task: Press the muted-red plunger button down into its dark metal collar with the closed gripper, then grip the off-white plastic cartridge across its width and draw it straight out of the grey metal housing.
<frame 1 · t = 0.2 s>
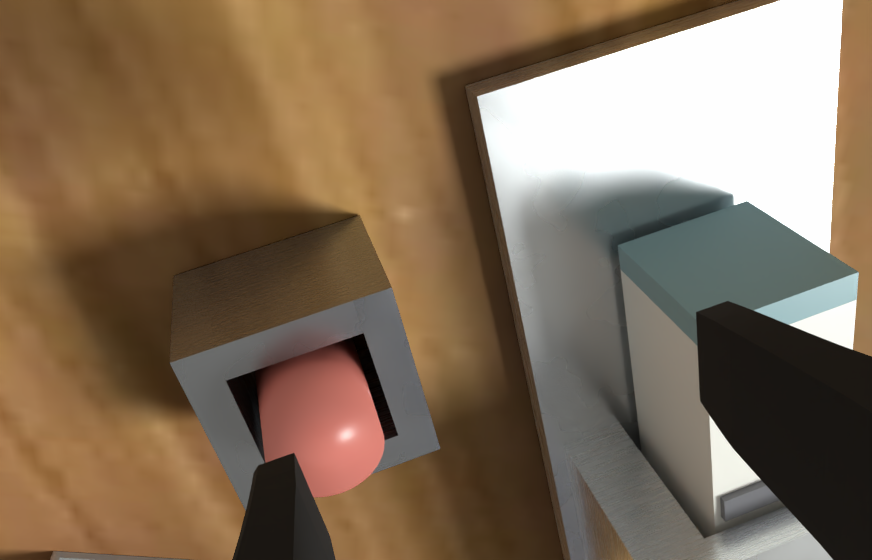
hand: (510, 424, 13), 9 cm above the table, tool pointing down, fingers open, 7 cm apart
housing: (678, 443, 28), on the table
plunger collar: (297, 321, 22), on the table
cartridge: (735, 451, 24), point 4 cm above the table, slide at 0.0 cm
plunger: (314, 396, 19), point 4 cm above the table, slide at 0.0 cm
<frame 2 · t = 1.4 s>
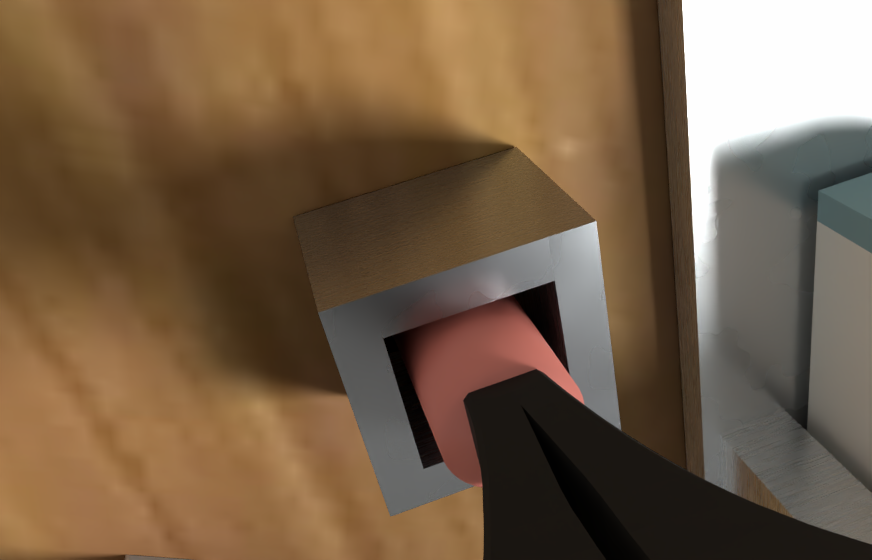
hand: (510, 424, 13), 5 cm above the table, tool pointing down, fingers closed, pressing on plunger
housing: (834, 436, 24), on the table
plunger collar: (431, 279, 18), on the table
plunger: (477, 363, 15), point 3 cm above the table, slide at 0.0 cm, touching gripper
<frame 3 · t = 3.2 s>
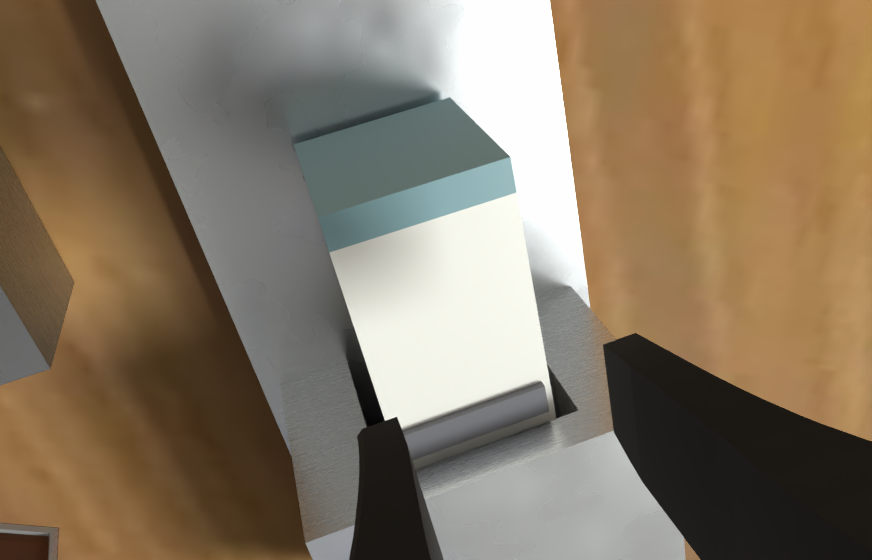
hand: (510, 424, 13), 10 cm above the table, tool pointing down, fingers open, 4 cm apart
housing: (441, 392, 25), on the table
cartridge: (454, 389, 21), point 4 cm above the table, slide at 0.0 cm
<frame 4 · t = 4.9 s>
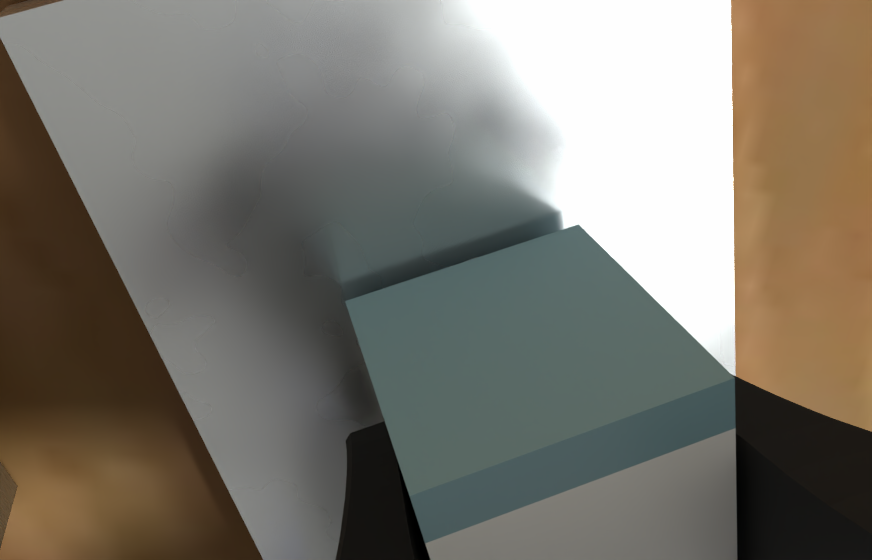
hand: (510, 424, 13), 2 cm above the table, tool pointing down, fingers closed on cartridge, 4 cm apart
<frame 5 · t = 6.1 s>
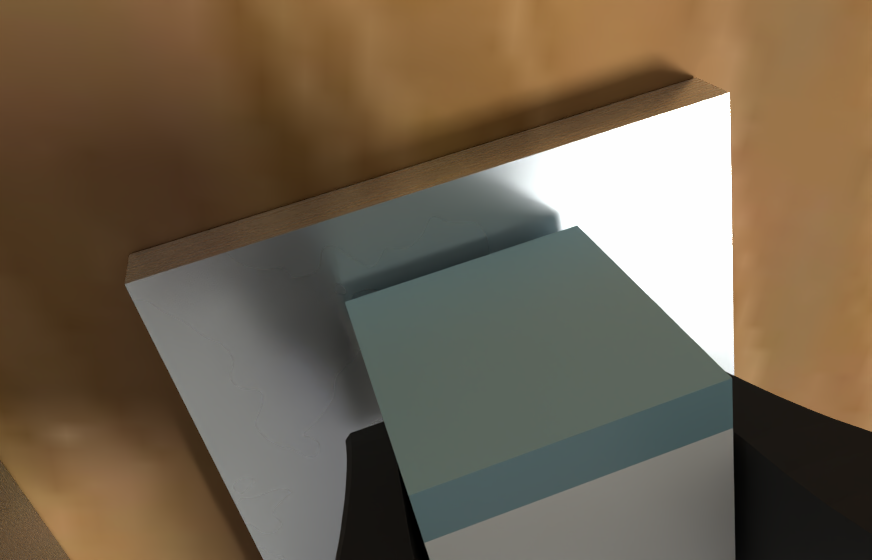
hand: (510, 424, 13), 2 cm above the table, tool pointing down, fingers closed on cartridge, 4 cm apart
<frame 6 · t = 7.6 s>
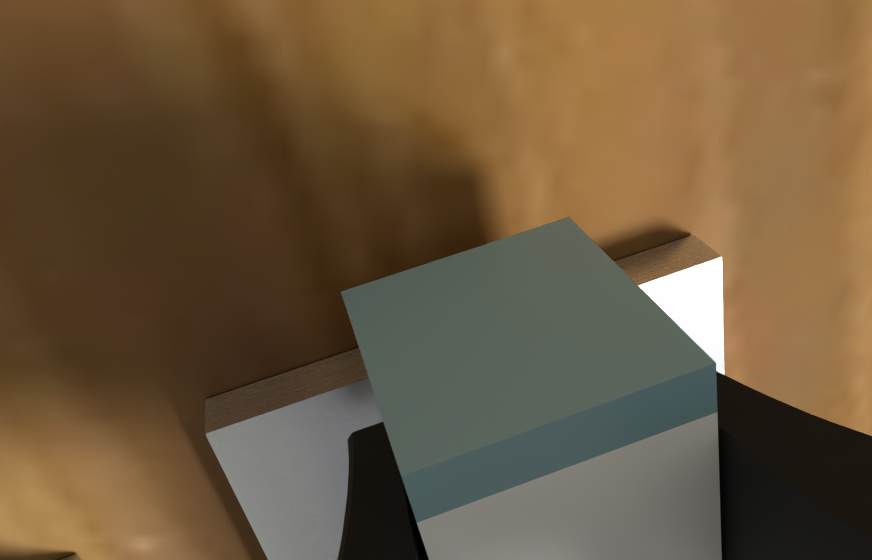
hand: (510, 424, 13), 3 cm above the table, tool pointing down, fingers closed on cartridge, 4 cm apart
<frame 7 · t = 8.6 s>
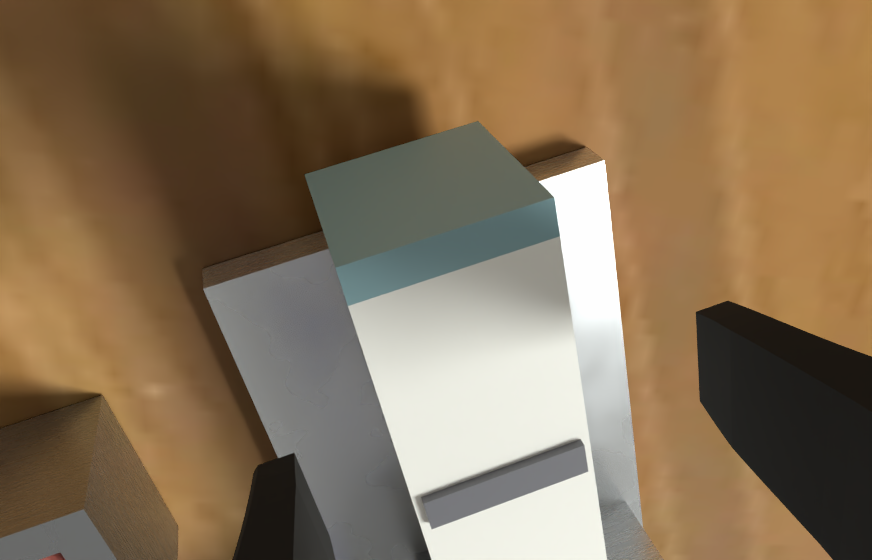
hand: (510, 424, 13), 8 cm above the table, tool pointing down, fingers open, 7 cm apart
plunger collar: (49, 496, 21), on the table
cartridge: (480, 440, 19), point 4 cm above the table, slide at 7.3 cm
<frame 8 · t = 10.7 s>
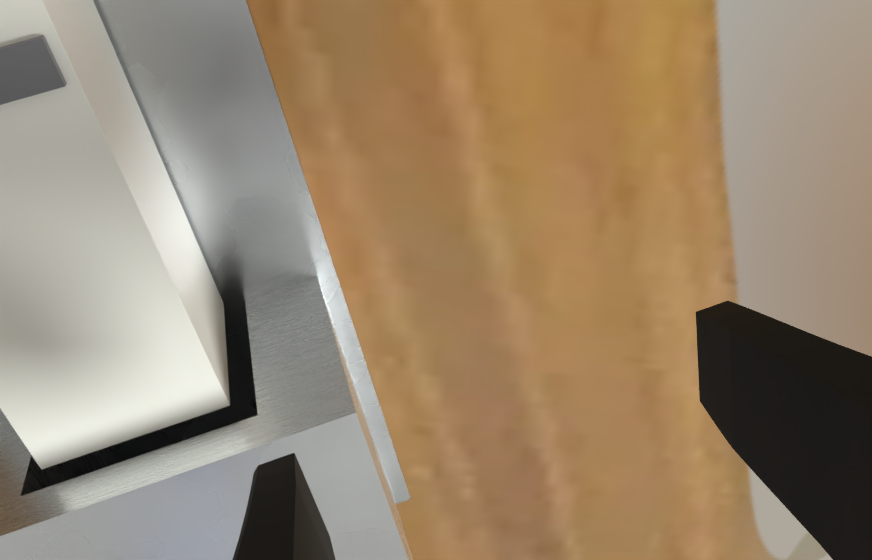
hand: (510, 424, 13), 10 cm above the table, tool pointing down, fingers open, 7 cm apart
housing: (194, 393, 23), on the table
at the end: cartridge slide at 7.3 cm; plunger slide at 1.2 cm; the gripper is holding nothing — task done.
